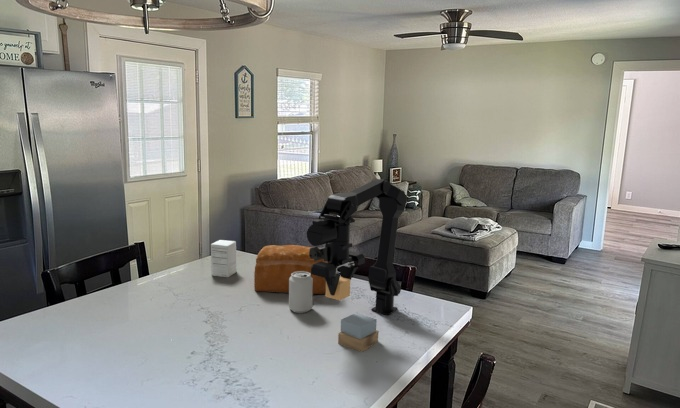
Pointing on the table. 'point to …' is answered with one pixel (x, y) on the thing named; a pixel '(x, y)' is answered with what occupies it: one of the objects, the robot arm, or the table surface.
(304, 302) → the can
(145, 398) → the table surface
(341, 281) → the ochre cube
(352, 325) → the slate block
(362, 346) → the walnut base block
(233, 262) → the supplement box
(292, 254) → the bread
